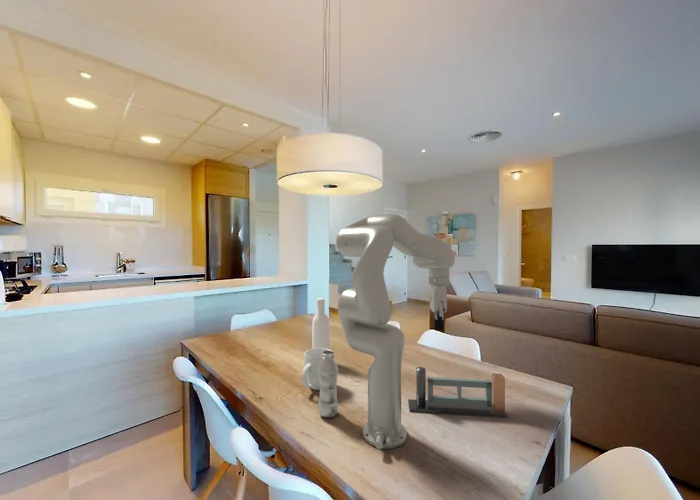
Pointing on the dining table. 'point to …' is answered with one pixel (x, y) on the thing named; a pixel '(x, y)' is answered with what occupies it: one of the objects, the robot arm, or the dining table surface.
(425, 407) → the gate frame
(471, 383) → the gate
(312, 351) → the mug
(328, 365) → the plastic bottle
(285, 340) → the dining table surface
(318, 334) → the bottle
